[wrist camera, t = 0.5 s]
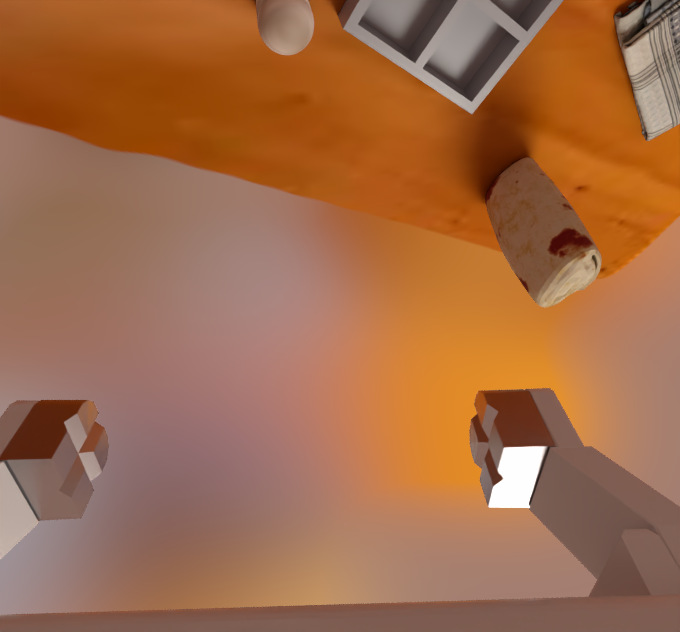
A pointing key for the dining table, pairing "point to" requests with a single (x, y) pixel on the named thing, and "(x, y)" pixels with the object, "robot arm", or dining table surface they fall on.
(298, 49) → the egg
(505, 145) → the dining table surface
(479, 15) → the gray compartment tray
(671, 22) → the dish towel
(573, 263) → the food model
